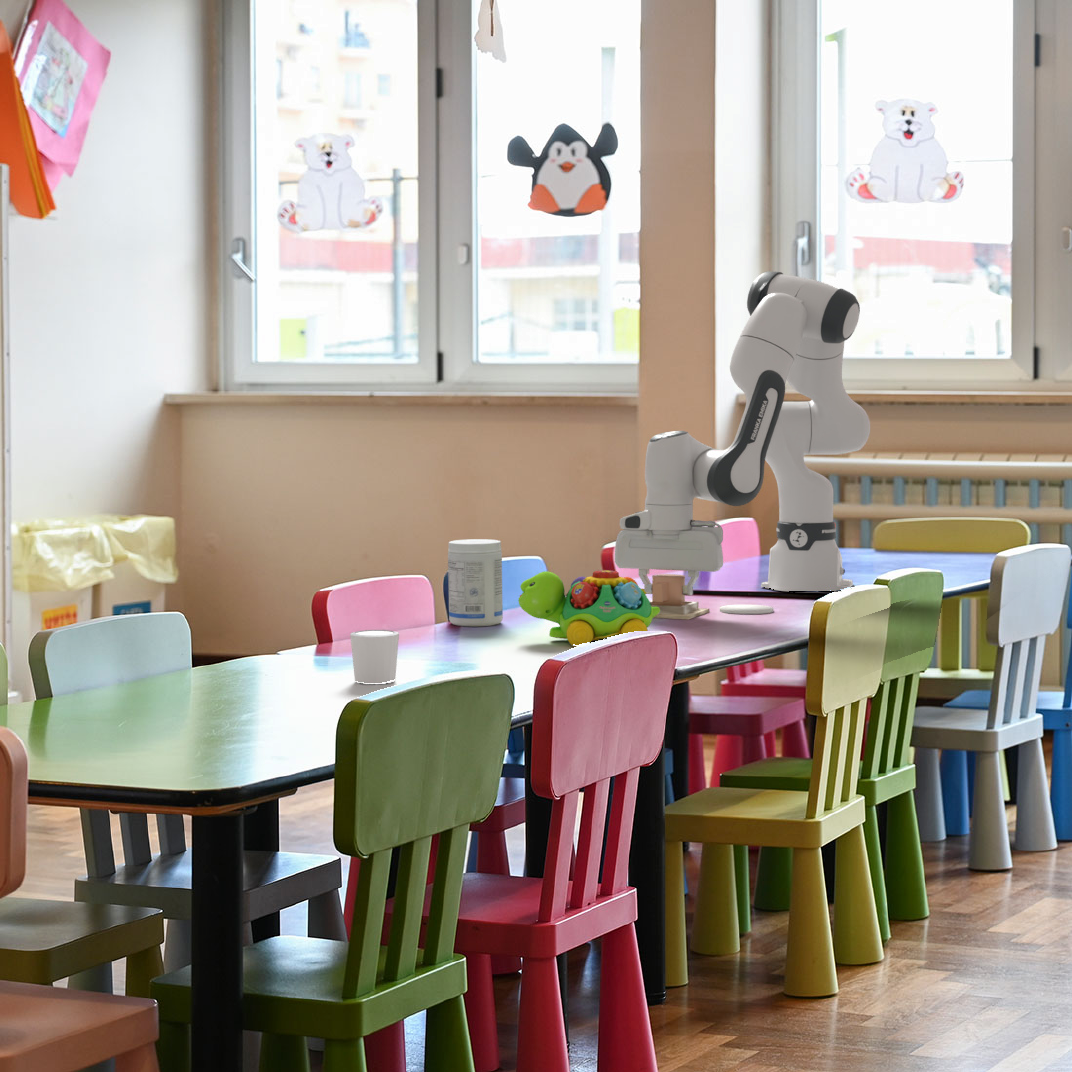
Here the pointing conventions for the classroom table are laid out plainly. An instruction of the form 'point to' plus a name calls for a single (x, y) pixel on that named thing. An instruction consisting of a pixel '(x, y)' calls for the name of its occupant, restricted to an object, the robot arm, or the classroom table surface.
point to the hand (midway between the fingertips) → (668, 594)
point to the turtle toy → (588, 605)
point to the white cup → (374, 655)
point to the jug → (668, 590)
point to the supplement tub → (475, 582)
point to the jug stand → (680, 611)
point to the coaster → (746, 609)
